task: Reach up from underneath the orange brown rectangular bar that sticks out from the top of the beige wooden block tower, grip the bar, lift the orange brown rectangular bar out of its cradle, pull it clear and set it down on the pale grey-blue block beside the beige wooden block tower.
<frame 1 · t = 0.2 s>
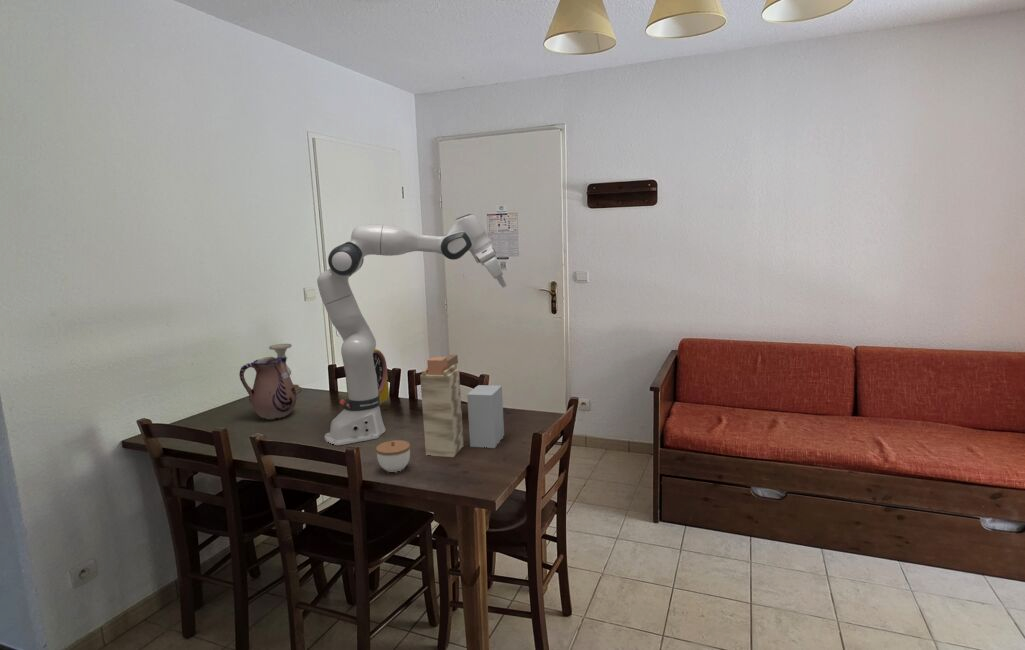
hand: (503, 285, 225), 54 cm above the table, tool tilted 25°, fingers open, 8 cm apart
beige wooden block tower: (445, 450, 205), on the table
pedestal: (487, 441, 213), on the table
candle holder: (285, 394, 289), on the table
lidded jar: (394, 469, 192), on the table
alarm clock: (369, 404, 265), on the table
orange brown rectangular bar: (438, 373, 199), point 28 cm above the table, touching beige wooden block tower
ceramic pitcher: (272, 418, 252), on the table
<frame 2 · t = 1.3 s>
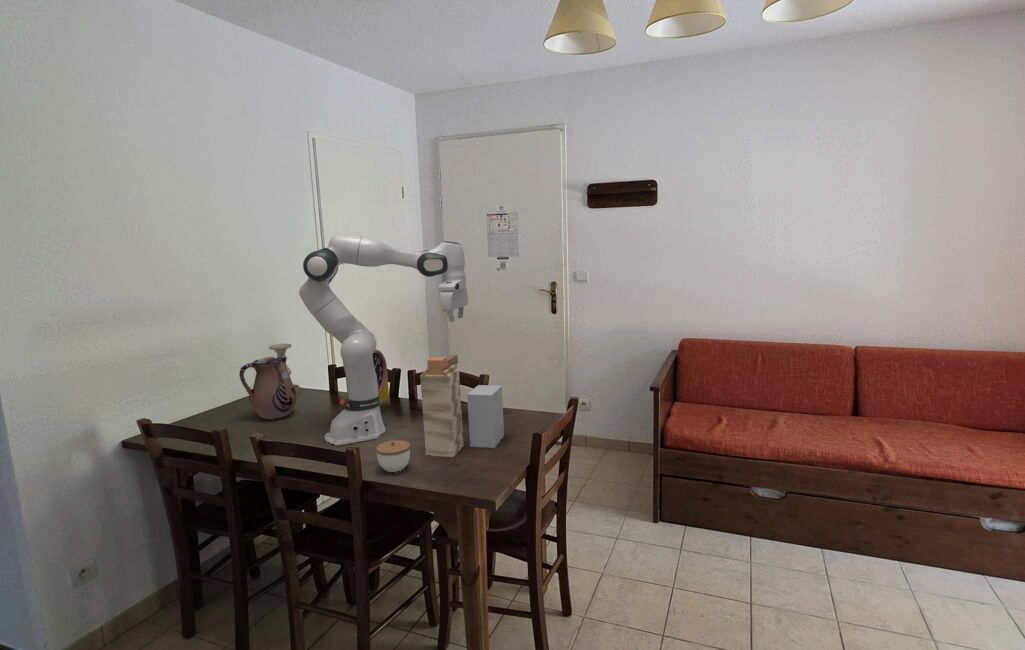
hand: (456, 319, 229), 41 cm above the table, tool pointing down, fingers open, 8 cm apart
nothing on the table moved.
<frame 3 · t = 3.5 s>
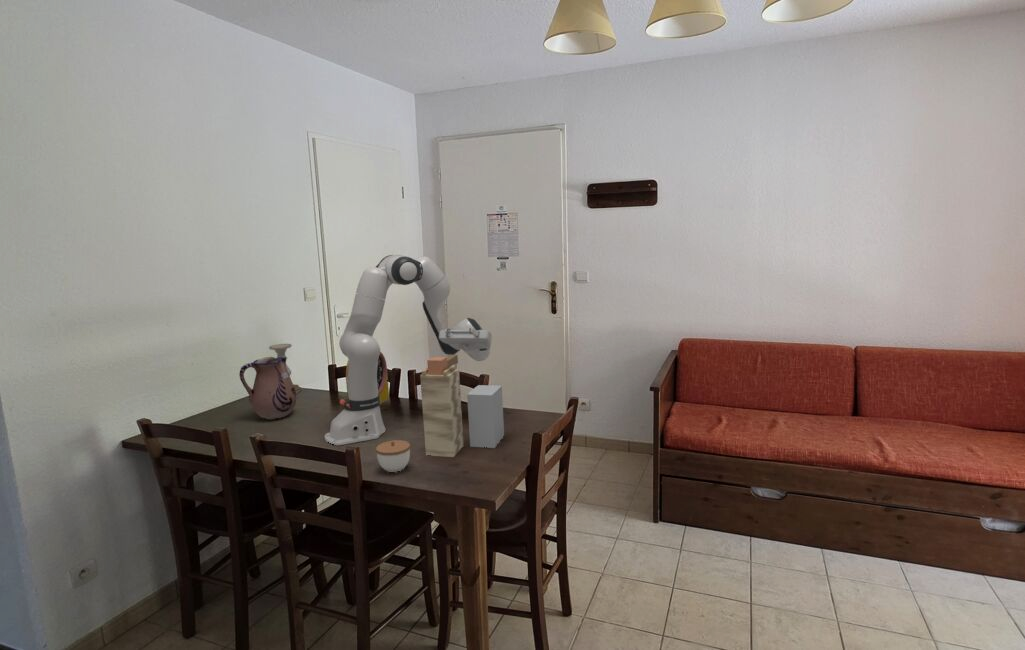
hand: (458, 330, 222), 38 cm above the table, tool pointing upward, fingers open, 8 cm apart
nothing on the table moved.
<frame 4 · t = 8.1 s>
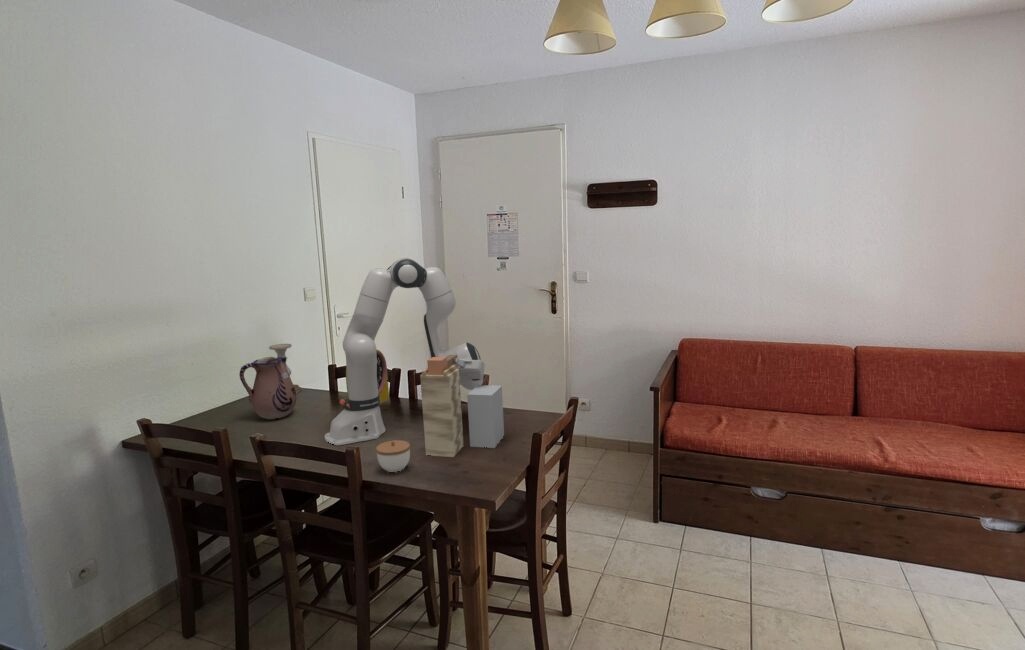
hand: (449, 360, 209), 30 cm above the table, tool pointing upward, fingers closed on orange brown rectangular bar, 3 cm apart
orange brown rectangular bar: (438, 373, 199), point 28 cm above the table, touching gripper, beige wooden block tower
everything else where it was.
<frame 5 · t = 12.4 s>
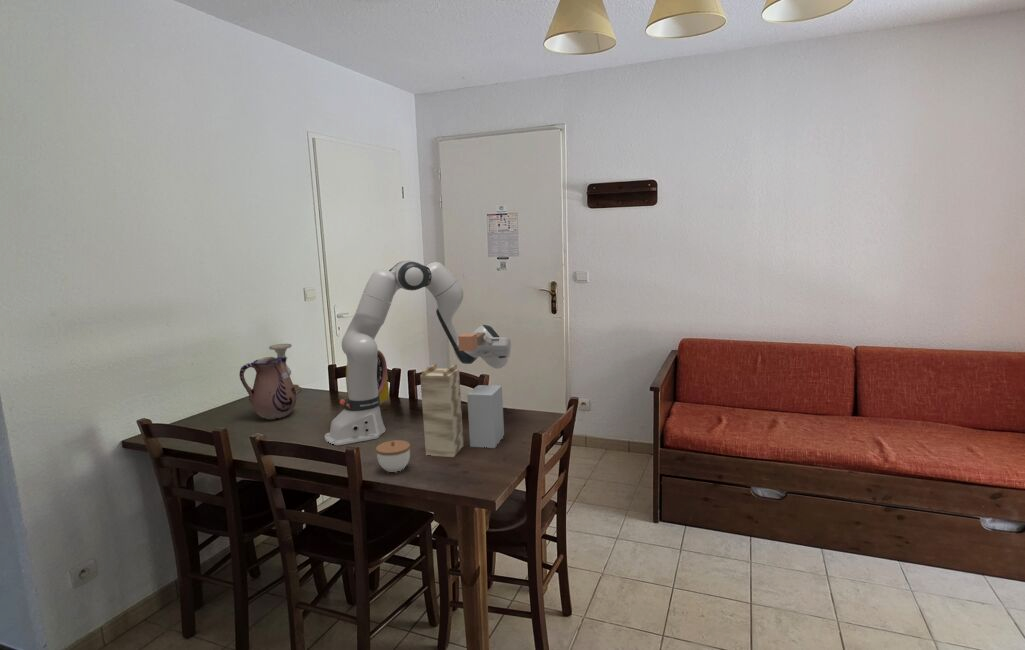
hand: (477, 337, 216), 36 cm above the table, tool pointing upward, fingers closed on orange brown rectangular bar, 3 cm apart
orange brown rectangular bar: (468, 349, 206), point 34 cm above the table, touching gripper
everything else where it was.
when the fingers open (22 cm above the table, at t = 16.8 s): orange brown rectangular bar drops 1 cm, resting on pedestal.
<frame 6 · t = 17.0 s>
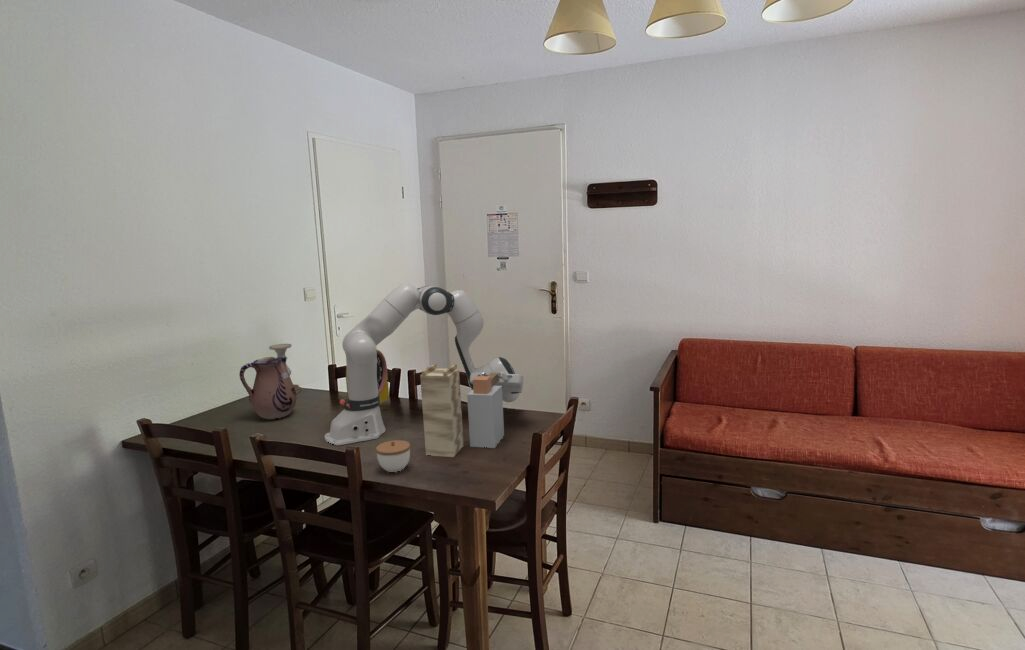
hand: (491, 374, 217), 22 cm above the table, tool pointing upward, fingers open, 5 cm apart
orange brown rectangular bar: (482, 391, 207), point 19 cm above the table, touching pedestal
everything else where it was.
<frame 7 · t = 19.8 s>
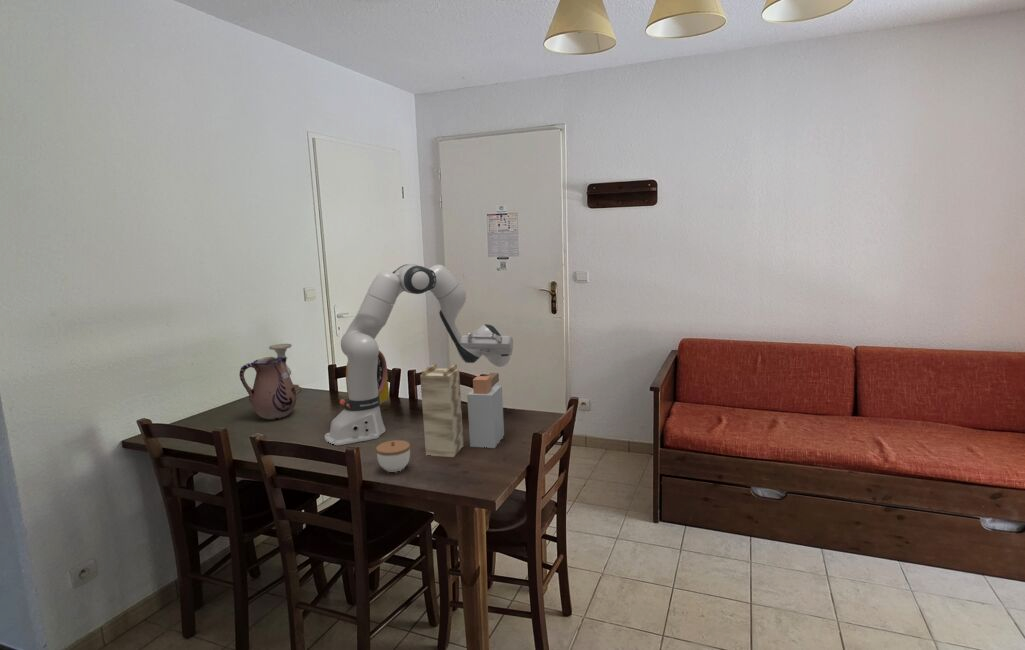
hand: (481, 335, 221), 36 cm above the table, tool pointing upward, fingers open, 8 cm apart
nothing on the table moved.
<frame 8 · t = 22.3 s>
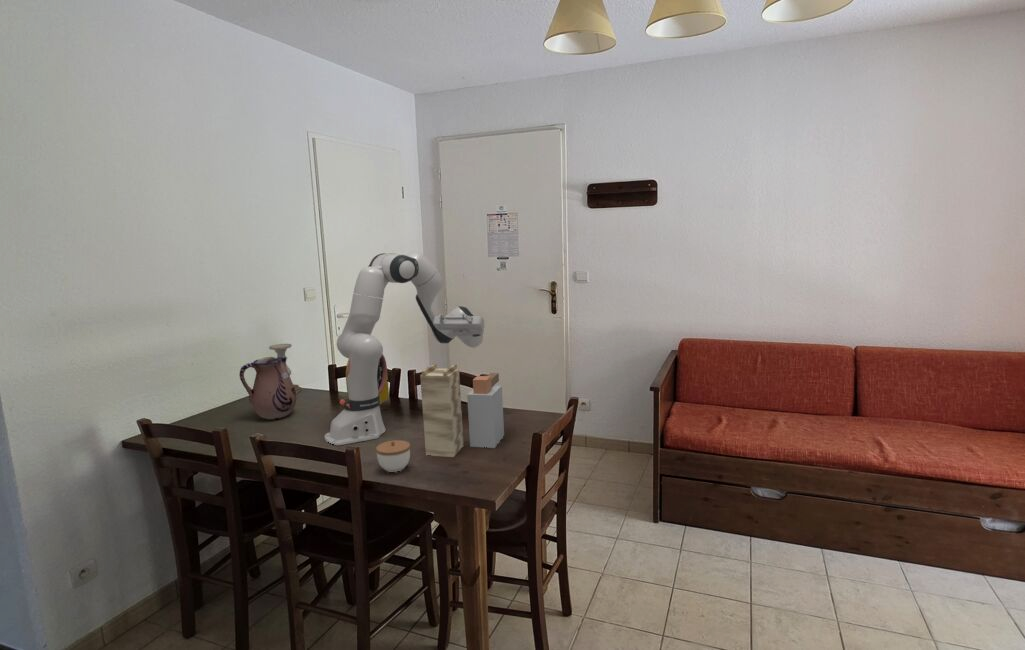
hand: (452, 315, 229), 42 cm above the table, tool pointing upward, fingers open, 8 cm apart
nothing on the table moved.
at the end: orange brown rectangular bar inside the target area on the pedestal (0.4 cm from its centre), point 19.0 cm above the pedestal's base; orange brown rectangular bar touching pedestal; the gripper is holding nothing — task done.
